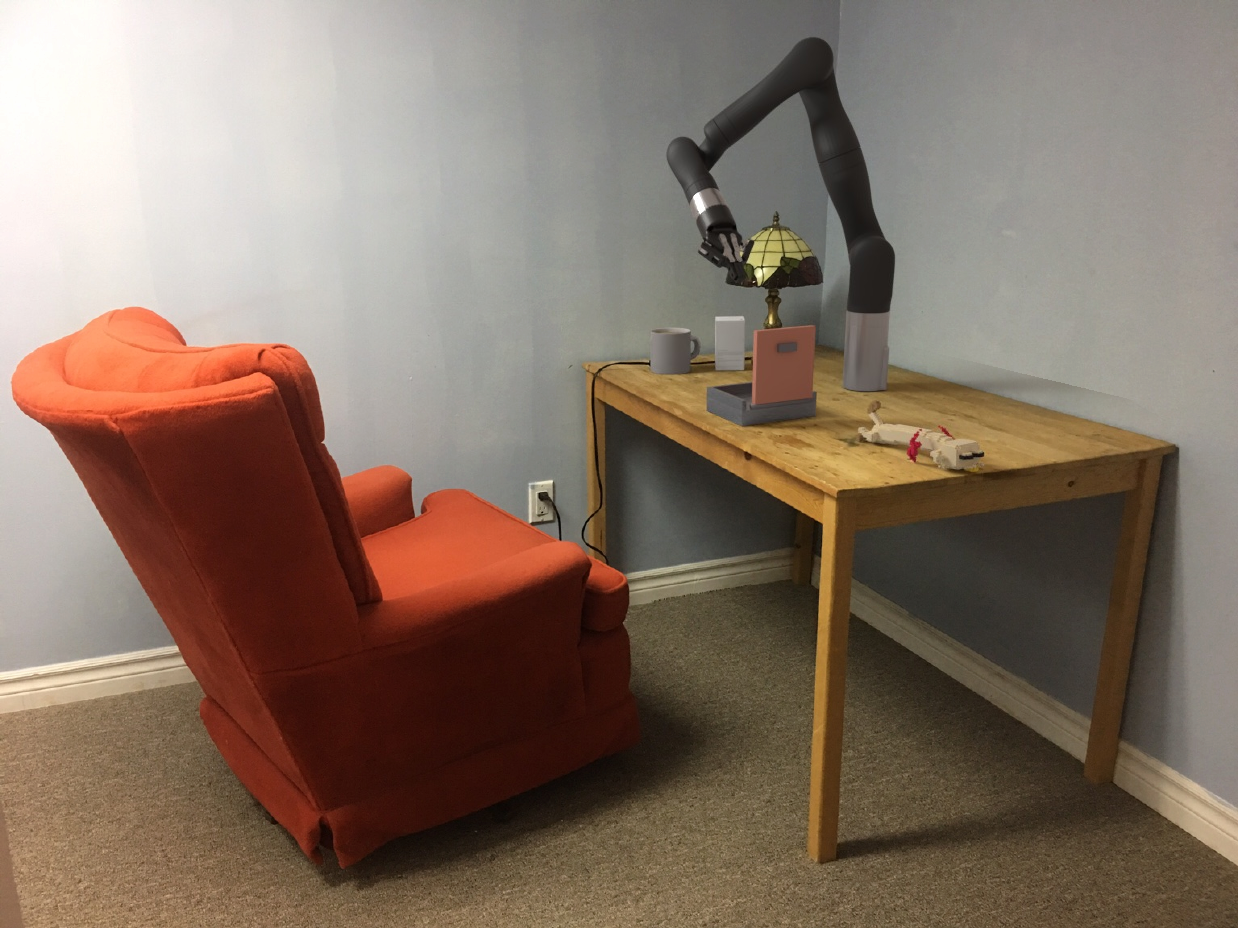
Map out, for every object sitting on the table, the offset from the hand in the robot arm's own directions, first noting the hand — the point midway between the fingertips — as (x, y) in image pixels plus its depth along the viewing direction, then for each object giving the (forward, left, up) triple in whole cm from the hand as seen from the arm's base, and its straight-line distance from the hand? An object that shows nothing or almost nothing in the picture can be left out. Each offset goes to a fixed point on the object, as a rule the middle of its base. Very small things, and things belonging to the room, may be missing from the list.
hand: (741, 280), depth 186 cm
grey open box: (-4, +8, -26) cm, 27 cm away
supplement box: (+2, -40, -26) cm, 48 cm away
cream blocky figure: (-30, +36, -26) cm, 54 cm away
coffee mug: (+15, -37, -26) cm, 47 cm away
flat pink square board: (-8, +14, -22) cm, 28 cm away
